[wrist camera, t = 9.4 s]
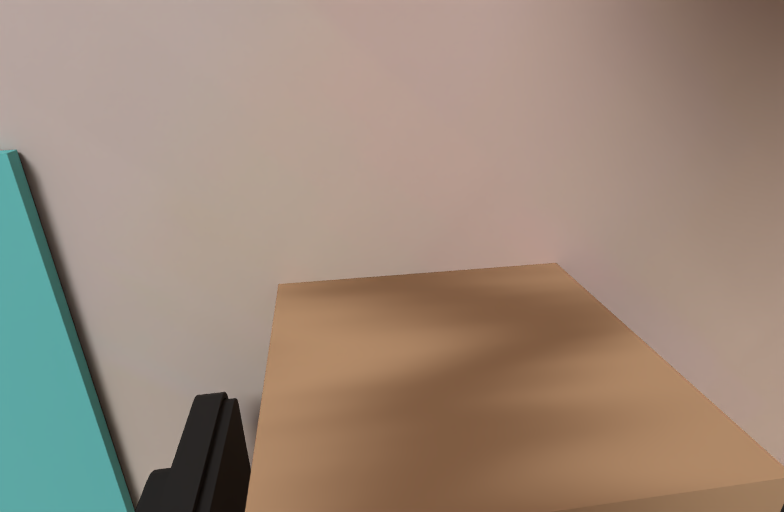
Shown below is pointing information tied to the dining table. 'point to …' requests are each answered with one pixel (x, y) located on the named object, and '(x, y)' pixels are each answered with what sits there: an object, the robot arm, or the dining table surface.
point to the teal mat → (45, 378)
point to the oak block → (486, 405)
